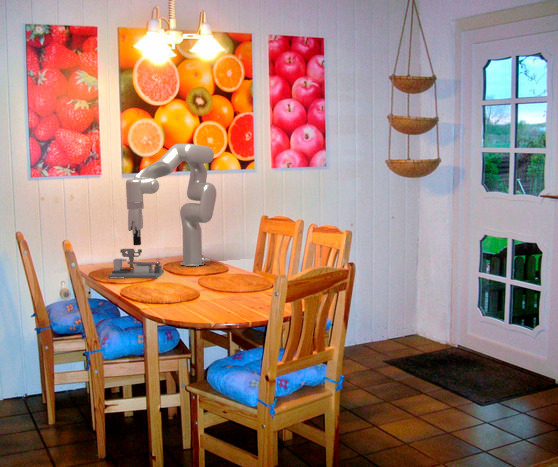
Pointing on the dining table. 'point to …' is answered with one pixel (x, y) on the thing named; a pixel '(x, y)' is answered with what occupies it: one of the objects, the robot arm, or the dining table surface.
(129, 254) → the mechanical component
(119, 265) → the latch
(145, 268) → the heatsink
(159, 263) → the silver metal bar
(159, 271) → the socket board
